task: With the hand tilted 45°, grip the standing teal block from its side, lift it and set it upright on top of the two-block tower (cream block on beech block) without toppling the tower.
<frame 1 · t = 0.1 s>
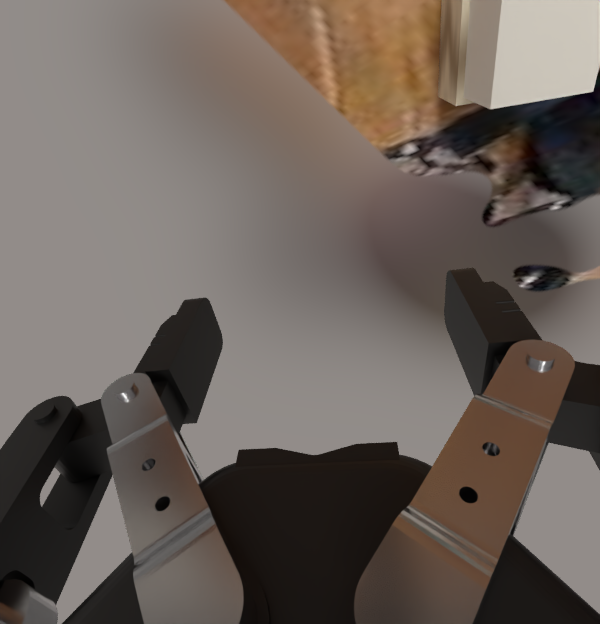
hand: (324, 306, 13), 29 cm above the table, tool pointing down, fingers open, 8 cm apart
beech block: (482, 42, 32), on the table, touching cream block
cream block: (510, 42, 27), point 6 cm above the table, touching beech block
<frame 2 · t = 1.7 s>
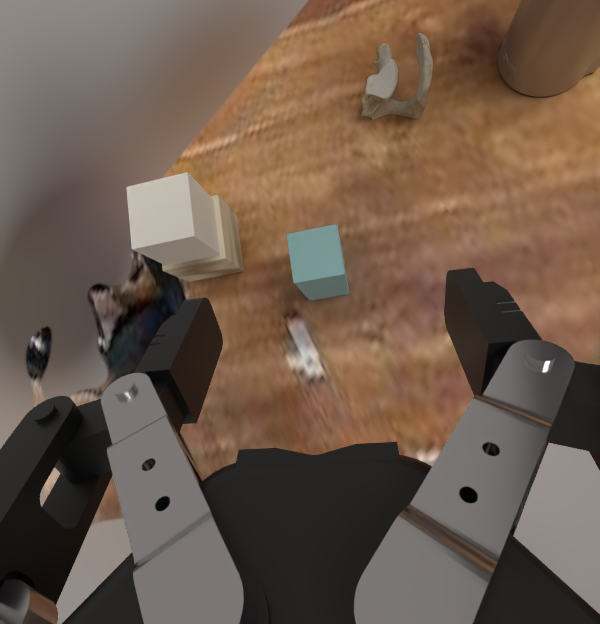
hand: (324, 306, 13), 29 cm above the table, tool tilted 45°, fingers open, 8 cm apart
beech block: (212, 248, 45), on the table, touching cream block
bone: (386, 106, 44), on the table
teal block: (326, 277, 42), on the table
cream block: (190, 232, 39), point 6 cm above the table, touching beech block
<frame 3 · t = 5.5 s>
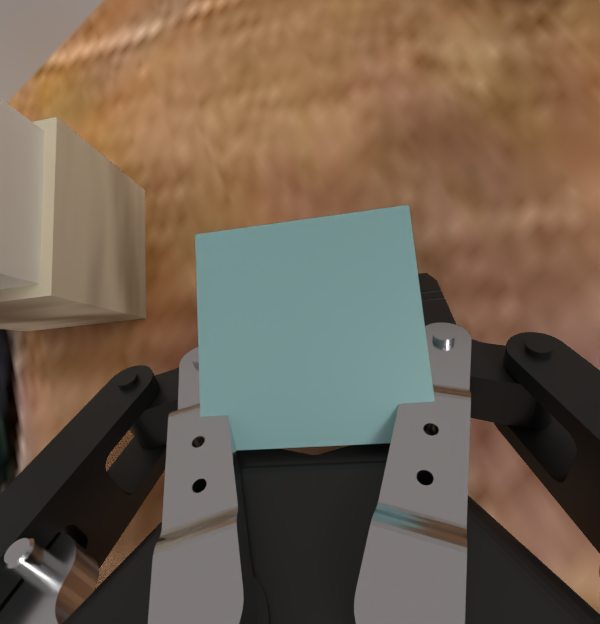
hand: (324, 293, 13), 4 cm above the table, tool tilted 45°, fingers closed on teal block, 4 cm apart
beech block: (85, 260, 20), on the table, touching cream block
teal block: (337, 352, 17), on the table, touching gripper
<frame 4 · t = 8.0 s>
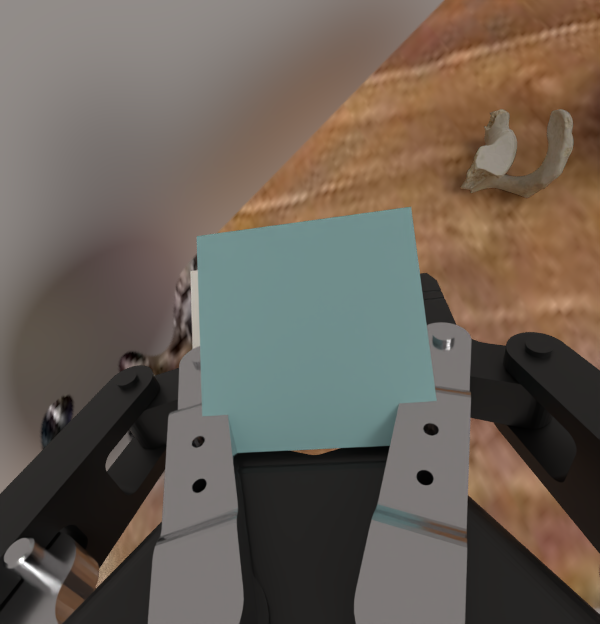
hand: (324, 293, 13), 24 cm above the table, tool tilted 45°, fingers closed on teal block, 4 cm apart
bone: (489, 178, 37), on the table
teal block: (338, 353, 17), point 20 cm above the table, touching gripper
cream block: (254, 317, 33), point 6 cm above the table
when the fingers open (17 cm above the table, at t = 10.5 s): teal block drops 1 cm, resting on cream block.
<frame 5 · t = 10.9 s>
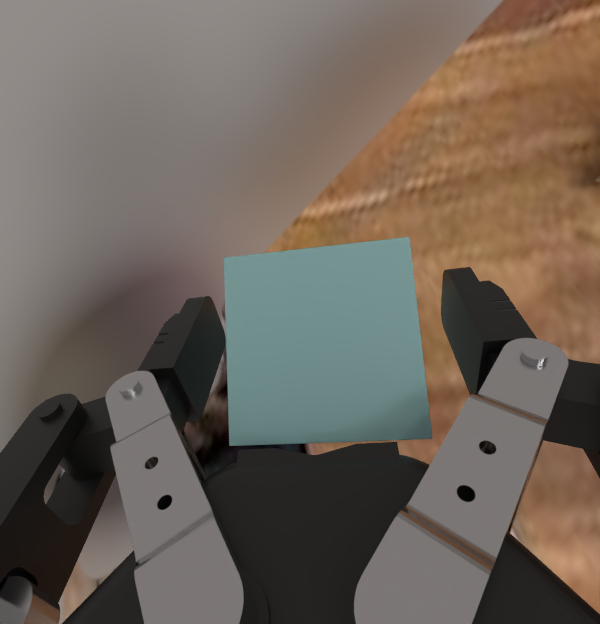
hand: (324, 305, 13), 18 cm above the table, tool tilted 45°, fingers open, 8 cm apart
teal block: (341, 356, 18), point 12 cm above the table, touching cream block
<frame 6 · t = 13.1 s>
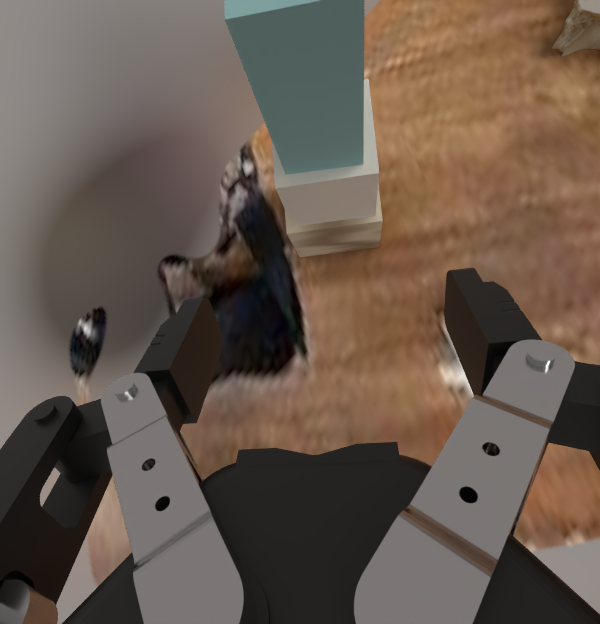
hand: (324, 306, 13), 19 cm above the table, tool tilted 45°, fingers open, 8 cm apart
beech block: (335, 215, 34), on the table, touching cream block
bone: (582, 39, 33), on the table
teal block: (321, 134, 22), point 12 cm above the table, touching cream block
cream block: (330, 183, 28), point 6 cm above the table, touching beech block, teal block
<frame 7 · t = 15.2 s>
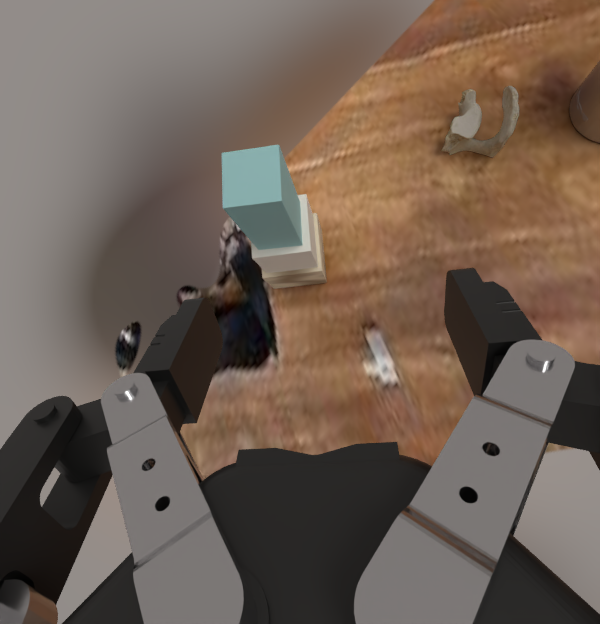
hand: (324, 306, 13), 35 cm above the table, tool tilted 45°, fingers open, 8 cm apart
beech block: (298, 260, 50), on the table, touching cream block
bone: (463, 143, 49), on the table
teal block: (279, 226, 38), point 12 cm above the table, touching cream block
cream block: (290, 245, 44), point 6 cm above the table, touching beech block, teal block
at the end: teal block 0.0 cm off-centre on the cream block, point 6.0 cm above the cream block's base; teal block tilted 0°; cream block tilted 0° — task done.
